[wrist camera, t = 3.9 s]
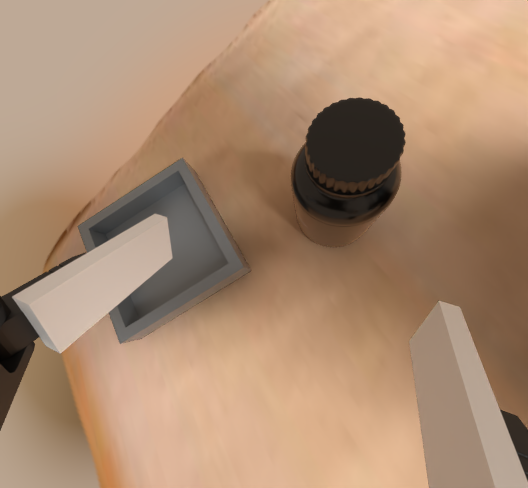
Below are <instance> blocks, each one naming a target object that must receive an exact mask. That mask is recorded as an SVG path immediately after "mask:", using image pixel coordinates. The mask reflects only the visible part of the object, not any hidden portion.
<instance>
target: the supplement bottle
mask: <svg viewBox="0 0 528 488" xmlns="http://www.w3.org/2000/svg"><path fill="white" fill-rule="evenodd" d="M404 137H405V132H404V131H403V124H402V123H401V122H400V118H399V117H398V116H397V115H395V112H394V111H393V110H391V109H389V108H388V106H387V105H384V104H381V103H380V102H379V101H373V100H371V99H363V98H356V99H355V98H349V99H347V100H340V101H339V102H336V103H332V104H331V105H330V106H329V107H326V108H324V110H323V111H322V112H320V113H318V115H317V117H316V118H315V119H314V120H313V121H312V125H311V126H310V127H309V128H308V134H307V136H306V142H305V144H304V145H303V146H302V147H301V149H300V150H299V151H298V153H297V155H296V157H295V159H294V162H293V165H292V170H291V186H292V192H293V198H294V205H295V211H296V216H297V221H298V224H299V226H300V228H301V230H302V231H303V233H304V234H305V235H306V236H307V237H308V238H309V239H310V240H312V241H313V242H315V243H317V244H319V245H322V246H326V247H341V246H345V245H348V244H350V243H352V242H354V241H356V240H357V239H358V238H360V237H361V236H362V235H363V234H364V233H365V232H366V231H367V229H368V228H369V227H370V226H371V225H372V224H373V223H374V222H375V221H376V220H377V218H378V217H379V216H380V215H381V214H382V213H383V212H384V211H385V210H386V209H387V207H388V206H389V205H390V204H391V202H392V201H393V199H394V198H395V196H396V194H397V192H398V189H399V186H400V182H401V164H400V160H399V159H400V157H401V155H402V154H403V147H404V145H405V139H404Z"/></svg>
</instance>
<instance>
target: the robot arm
mask: <svg viewBox="0 0 528 488" xmlns="http://www.w3.org/2000/svg"><path fill="white" fill-rule="evenodd" d="M172 258H173V257H172V250H171V243H170V235H169V228H168V221H167V217H165V216H161V215H158V214H153V215H152V216H150V217H148V218H147V219H145V220H143V221H141V222H140V223H138V224H136V225H135V226H133V227H131V228H129V229H128V230H126V231H124V232H122V233H121V234H119V235H117V236H116V237H114V238H112V239H110V240H109V241H107V242H105V243H104V244H102V245H100V246H98V247H97V248H95V249H93V250H92V251H90V252H88V253H83V254H80V255H77V256H74V257H72V258H70V259H68V260H66V261H65V262H63V263H61V264H59V266H56V267H54V268H52V269H50V270H49V272H45V273H43V274H42V275H40V276H38V277H37V278H34V279H33V280H31V281H29V282H28V283H26V284H24V285H22V286H20V287H19V288H17V289H15V290H13V291H12V292H10V293H8V294H6V295H4V296H2V297H1V296H0V430H1V428H2V425H3V423H4V420H5V418H6V415H7V413H8V411H9V408H10V405H11V404H12V401H13V399H14V396H15V394H16V391H17V389H18V387H19V384H20V382H21V380H22V377H23V374H24V372H25V370H26V368H27V365H28V363H29V360H30V358H31V355H32V353H33V351H34V346H35V343H34V342H33V341H34V340H36V339H37V338H38V337H40V338H41V340H42V341H43V343H44V344H45V345H46V346H47V347H49V348H51V349H52V350H54V351H56V352H58V353H60V354H61V353H62V352H63V351H64V350H65V349H66V348H68V347H69V346H70V345H71V344H72V343H73V342H75V341H76V340H77V339H78V338H79V337H80V336H82V335H83V334H84V333H85V332H86V331H88V330H89V329H90V328H91V327H92V326H93V325H95V324H96V323H97V322H98V321H99V320H100V319H102V318H103V317H104V316H105V315H106V314H107V313H109V312H110V311H111V310H112V309H113V308H115V307H116V306H117V305H118V304H119V303H120V302H122V301H123V300H124V299H125V298H126V297H127V296H129V295H130V294H131V293H132V292H133V291H134V290H136V289H137V288H138V287H139V286H140V285H142V284H143V283H144V282H145V281H146V280H147V279H149V278H150V277H151V276H152V275H153V274H154V273H156V272H157V271H158V270H159V269H160V268H161V267H163V266H164V265H165V264H166V263H167V262H169V261H170V260H171V259H172ZM409 345H410V352H411V359H412V367H413V374H414V381H415V389H416V396H417V403H418V411H419V418H420V425H421V433H422V440H423V447H424V455H425V462H426V470H427V477H428V484H429V488H528V430H527V428H526V427H525V426H524V424H523V423H522V422H521V420H520V419H519V418H518V416H515V415H513V414H510V413H507V412H505V411H502V410H500V409H499V406H498V404H497V401H496V398H495V396H494V393H493V391H492V388H491V385H490V383H489V380H488V378H487V375H486V373H485V370H484V367H483V365H482V362H481V360H480V357H479V355H478V352H477V349H476V347H475V344H474V342H473V339H472V337H471V334H470V331H469V329H468V326H467V324H466V321H465V318H464V316H463V313H462V311H461V308H460V307H459V306H455V305H452V304H449V303H446V302H442V301H438V302H437V304H436V305H435V306H434V308H433V309H432V310H431V312H430V313H429V314H428V316H427V317H426V319H425V320H424V321H423V323H422V324H421V325H420V327H419V328H418V329H417V331H416V332H415V333H414V335H413V336H412V337H411V339H410V340H409Z"/></svg>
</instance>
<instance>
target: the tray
mask: <svg viewBox="0 0 528 488" xmlns="http://www.w3.org/2000/svg"><path fill="white" fill-rule="evenodd" d="M153 214H158V215H161V216H165V217H167V221H168V228H169V235H170V243H171V250H172V257H173V258H172V259H171V260H170V261H169V262H167V263H166V264H165V265H164V266H163V267H161V268H160V269H159V270H158V271H157V272H156V273H154V274H153V275H152V276H151V277H150V278H149V279H147V280H146V281H145V282H144V283H143V284H142V285H140V286H139V287H138V288H137V289H136V290H134V291H133V292H132V293H131V294H130V295H129V296H127V297H126V298H125V299H124V300H123V301H122V302H120V303H119V304H118V305H117V306H116V307H115V308H113V309H112V310H111V311H110V312H109V315H110V317H111V320H112V323H113V326H114V329H115V331H116V334H117V337H118V340H119V342H120V344H122V343H126V342H130V341H134V340H138V339H142V338H143V337H145V336H146V335H148V334H150V333H151V332H153V331H154V330H156V329H158V328H159V327H161V326H163V325H164V324H166V323H167V322H169V321H171V320H172V319H174V318H176V317H177V316H179V315H180V314H182V313H184V312H185V311H187V310H189V309H190V308H192V307H193V306H195V305H197V304H198V303H200V302H201V301H203V300H205V299H206V298H208V297H210V296H211V295H213V294H214V293H216V292H218V291H219V290H221V289H223V288H224V287H226V286H227V285H229V284H231V283H232V282H234V281H236V280H237V279H239V278H240V277H242V276H244V275H245V274H247V273H248V272H250V271H251V269H250V267H249V266H248V264H247V262H246V260H245V259H244V257H243V255H242V253H241V252H240V250H239V248H238V246H237V245H236V243H235V241H234V239H233V237H232V236H231V234H230V232H229V230H228V229H227V227H226V225H225V223H224V222H223V220H222V218H221V216H220V214H219V213H218V211H217V209H216V207H215V206H214V204H213V202H212V200H211V199H210V197H209V195H208V193H207V191H206V190H205V188H204V186H203V184H202V183H201V181H200V179H199V177H198V176H197V174H196V172H195V171H194V170H193V168H192V167H191V166H190V165H189V164H188V163H187V162H186V161H185V160H184V159H183V158H181V159H180V160H178V161H177V162H175V163H174V164H172V165H171V166H169V167H168V168H166V169H164V170H163V171H161V172H160V173H158V174H157V175H155V176H154V177H152V178H151V179H149V180H148V181H146V182H145V183H143V184H141V185H140V186H138V187H137V188H135V189H134V190H132V191H131V192H129V193H128V194H126V195H125V196H123V197H122V198H120V199H118V200H117V201H115V202H114V203H112V204H111V205H109V206H108V207H106V208H105V209H103V210H102V211H100V212H99V213H97V214H96V215H94V216H92V217H91V218H89V219H88V220H86V221H85V222H83V223H82V224H80V225H79V226H78V229H79V231H80V234H81V237H82V240H83V242H84V245H85V248H86V251H87V253H88V252H90V251H92V250H93V249H95V248H97V247H98V246H100V245H102V244H104V243H105V242H107V241H109V240H110V239H112V238H114V237H116V236H117V235H119V234H121V233H122V232H124V231H126V230H128V229H129V228H131V227H133V226H135V225H136V224H138V223H140V222H141V221H143V220H145V219H147V218H148V217H150V216H152V215H153Z"/></svg>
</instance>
